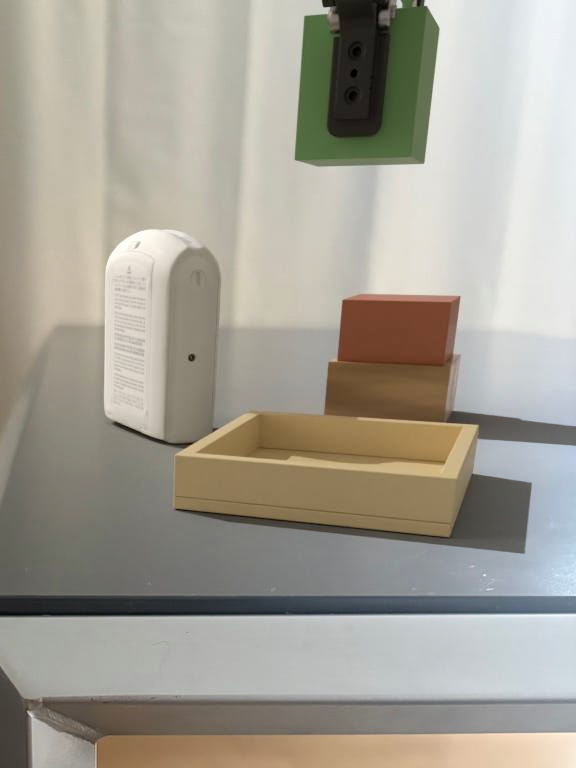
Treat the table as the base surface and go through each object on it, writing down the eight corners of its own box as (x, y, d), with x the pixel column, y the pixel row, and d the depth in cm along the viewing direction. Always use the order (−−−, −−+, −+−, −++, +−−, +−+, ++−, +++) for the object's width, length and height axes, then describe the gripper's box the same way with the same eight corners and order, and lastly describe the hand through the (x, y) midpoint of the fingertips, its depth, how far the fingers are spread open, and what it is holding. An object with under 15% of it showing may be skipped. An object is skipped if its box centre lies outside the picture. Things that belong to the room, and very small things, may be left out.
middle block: (354, 350, 74) (359, 293, 73) (453, 354, 72) (460, 295, 70) (336, 361, 68) (342, 299, 67) (443, 365, 66) (451, 301, 64)
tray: (248, 454, 59) (250, 409, 58) (472, 472, 54) (479, 424, 53) (172, 508, 47) (174, 454, 46) (449, 538, 43) (457, 478, 42)
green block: (317, 166, 48) (327, 35, 46) (424, 164, 46) (439, 27, 44) (293, 160, 44) (303, 15, 42) (411, 157, 42) (427, 5, 40)
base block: (344, 403, 76) (349, 349, 75) (453, 409, 73) (461, 353, 72) (323, 420, 69) (328, 361, 68) (442, 428, 67) (450, 366, 65)
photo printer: (223, 441, 63) (233, 229, 58) (162, 446, 61) (167, 228, 56) (150, 415, 71) (154, 229, 67) (96, 420, 70) (95, 229, 65)
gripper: (504, -490, 31) (433, 124, 37) (519, -285, 43) (464, 151, 50) (267, -431, 34) (239, 131, 40) (344, -254, 46) (314, 155, 52)
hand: (364, 140), depth 45 cm, fingers closed on green block, 5 cm apart
